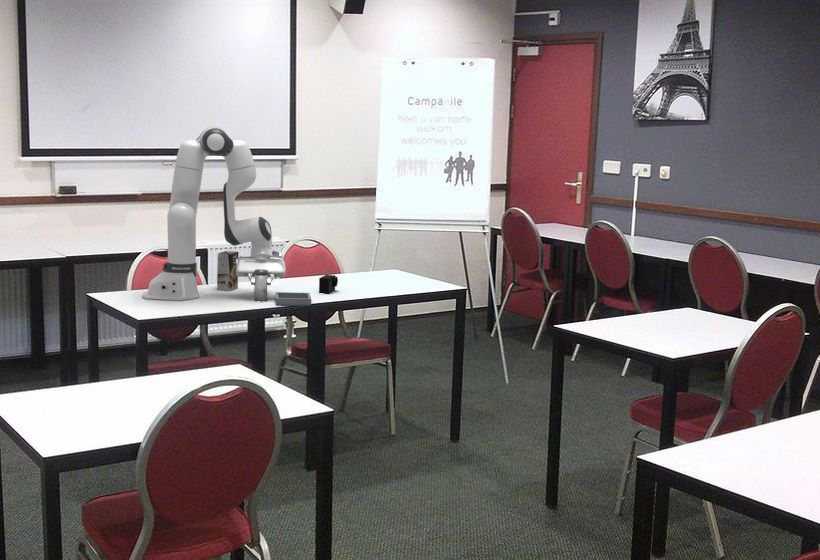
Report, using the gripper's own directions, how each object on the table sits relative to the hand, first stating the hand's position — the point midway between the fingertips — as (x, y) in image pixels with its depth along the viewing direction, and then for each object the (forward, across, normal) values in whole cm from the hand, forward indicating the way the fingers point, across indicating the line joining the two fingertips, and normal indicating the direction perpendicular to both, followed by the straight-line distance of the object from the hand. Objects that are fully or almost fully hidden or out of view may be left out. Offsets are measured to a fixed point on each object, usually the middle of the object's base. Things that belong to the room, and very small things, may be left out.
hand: (260, 284), depth 390 cm
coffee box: (-14, -14, +24) cm, 31 cm away
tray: (+7, +13, +2) cm, 15 cm away
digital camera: (-11, +29, +21) cm, 38 cm away
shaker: (+4, 0, +5) cm, 7 cm away
